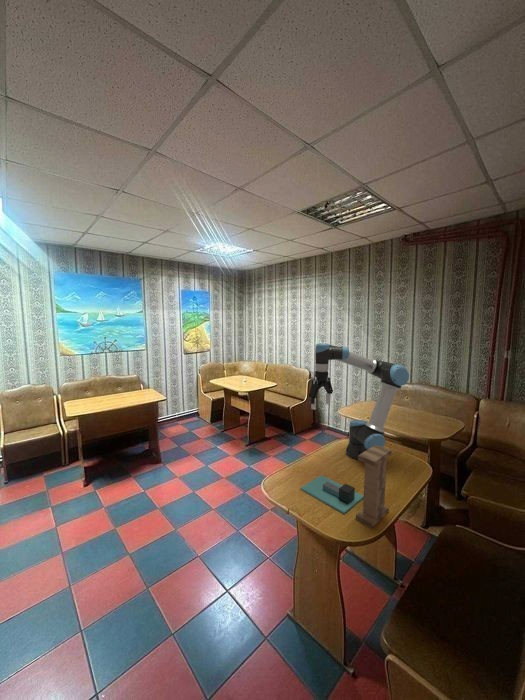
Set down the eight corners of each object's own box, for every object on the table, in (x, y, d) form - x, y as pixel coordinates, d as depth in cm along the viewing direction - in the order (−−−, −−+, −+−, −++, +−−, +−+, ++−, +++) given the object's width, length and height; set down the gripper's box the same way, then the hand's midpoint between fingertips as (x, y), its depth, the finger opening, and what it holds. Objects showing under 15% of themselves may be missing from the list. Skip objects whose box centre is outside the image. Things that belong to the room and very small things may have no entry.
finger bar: (328, 486, 152) (328, 475, 151) (354, 499, 140) (354, 487, 140) (321, 490, 148) (321, 479, 147) (347, 504, 136) (348, 492, 136)
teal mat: (321, 476, 162) (321, 475, 162) (363, 497, 143) (364, 496, 143) (300, 489, 150) (300, 487, 150) (344, 514, 131) (344, 512, 131)
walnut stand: (372, 503, 139) (375, 444, 135) (388, 511, 133) (391, 450, 130) (355, 519, 128) (358, 455, 125) (371, 528, 122) (374, 461, 119)
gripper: (328, 367, 174) (328, 401, 176) (302, 372, 157) (301, 409, 160) (339, 368, 168) (338, 403, 171) (313, 374, 152) (312, 413, 154)
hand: (320, 406), depth 165 cm, fingers open, 13 cm apart
